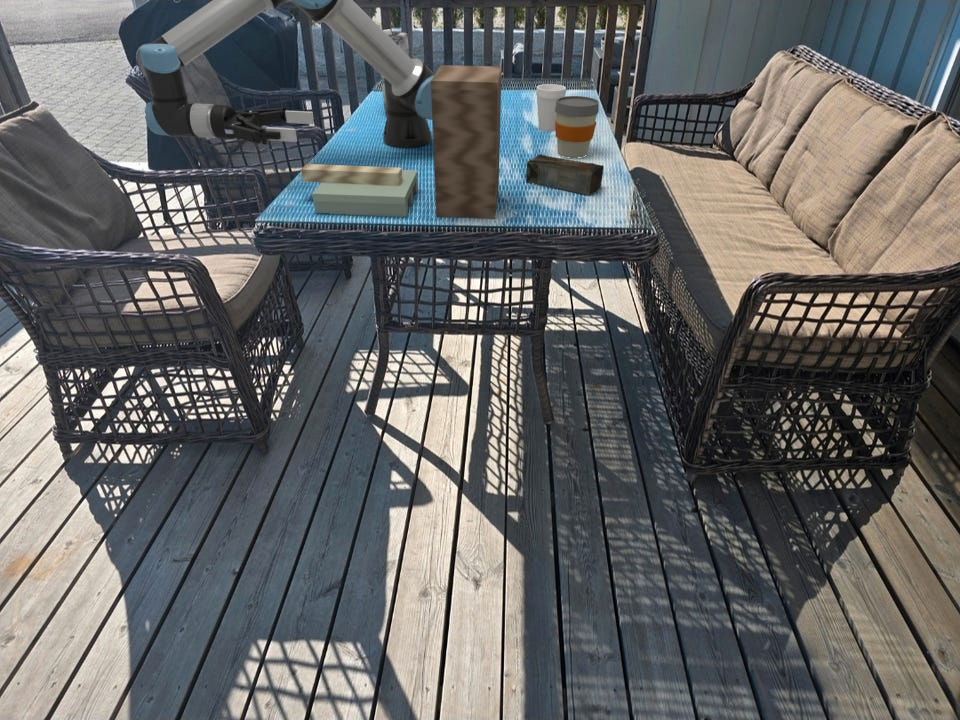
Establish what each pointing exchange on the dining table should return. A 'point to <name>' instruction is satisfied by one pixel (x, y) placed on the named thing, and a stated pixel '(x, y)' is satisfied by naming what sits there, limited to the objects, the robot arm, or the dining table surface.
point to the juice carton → (402, 42)
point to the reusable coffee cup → (575, 124)
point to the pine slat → (352, 174)
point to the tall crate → (466, 140)
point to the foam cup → (548, 104)
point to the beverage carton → (564, 174)
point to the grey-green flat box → (367, 197)
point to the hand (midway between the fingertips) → (304, 126)
